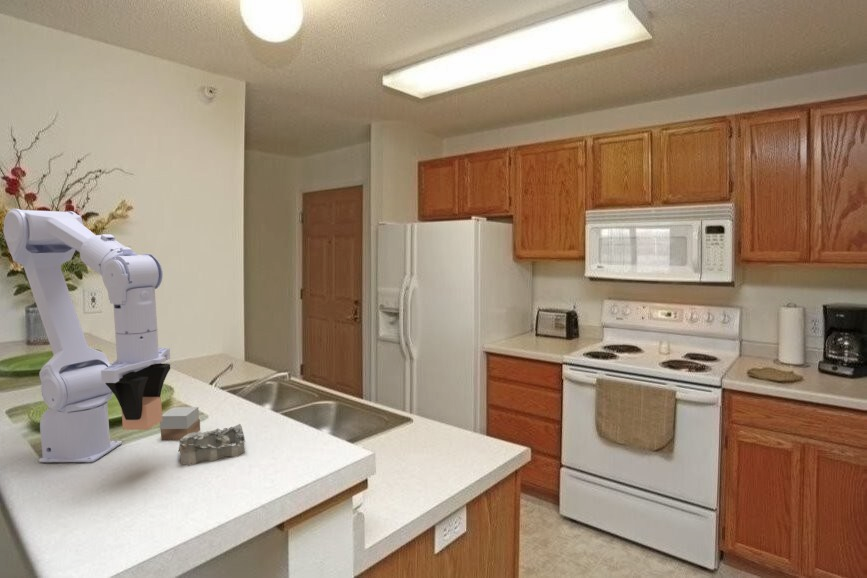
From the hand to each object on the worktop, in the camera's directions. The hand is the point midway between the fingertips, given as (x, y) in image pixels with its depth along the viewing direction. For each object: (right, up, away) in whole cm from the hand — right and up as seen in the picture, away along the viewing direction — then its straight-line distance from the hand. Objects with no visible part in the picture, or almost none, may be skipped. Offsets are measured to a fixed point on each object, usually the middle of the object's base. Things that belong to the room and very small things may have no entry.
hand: (142, 413), depth 79 cm
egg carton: (+8, -10, +8) cm, 15 cm away
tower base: (-2, -9, +16) cm, 19 cm away
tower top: (-2, -6, +16) cm, 17 cm away
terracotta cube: (0, -2, 0) cm, 2 cm away
